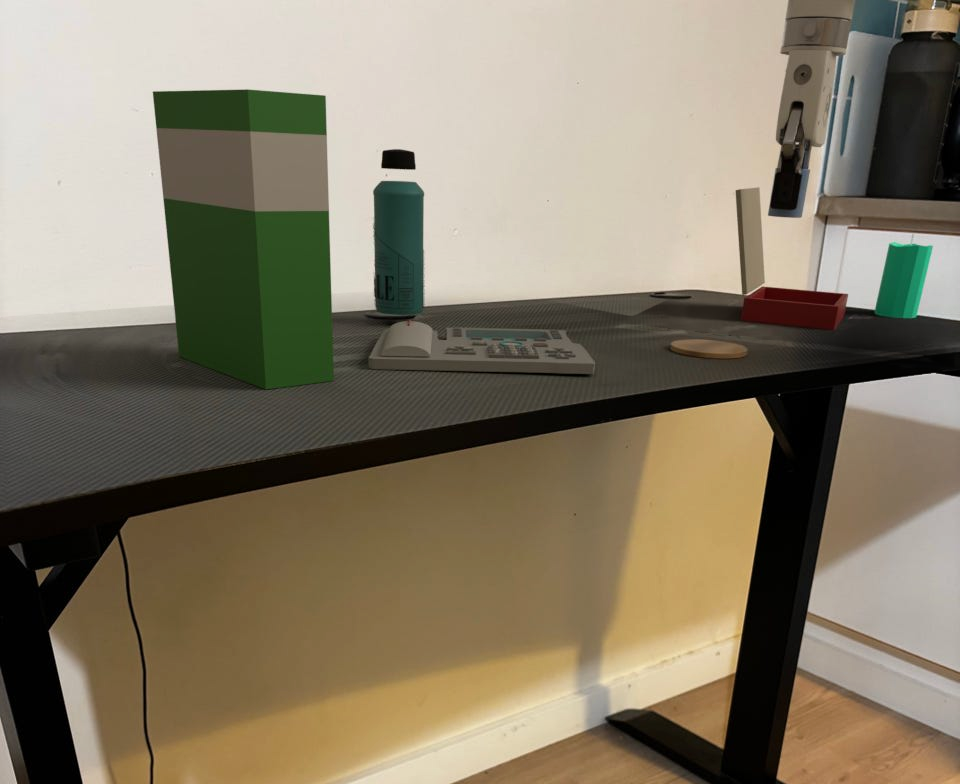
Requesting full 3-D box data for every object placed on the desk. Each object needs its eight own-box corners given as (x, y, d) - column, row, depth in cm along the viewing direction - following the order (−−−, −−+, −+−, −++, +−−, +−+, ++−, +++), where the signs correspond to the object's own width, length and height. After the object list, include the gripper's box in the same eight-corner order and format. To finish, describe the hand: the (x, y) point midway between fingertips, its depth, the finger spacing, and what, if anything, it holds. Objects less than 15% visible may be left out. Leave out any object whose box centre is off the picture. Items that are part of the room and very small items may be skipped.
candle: (921, 323, 142) (942, 235, 136) (881, 321, 142) (900, 233, 136) (906, 317, 147) (926, 232, 142) (867, 315, 147) (885, 230, 142)
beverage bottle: (432, 321, 126) (434, 150, 117) (412, 329, 120) (413, 150, 111) (386, 317, 128) (385, 148, 119) (364, 324, 122) (362, 147, 113)
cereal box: (179, 356, 100) (152, 91, 89) (243, 349, 104) (225, 96, 94) (265, 389, 88) (247, 89, 78) (333, 380, 93) (325, 95, 82)
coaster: (752, 349, 117) (753, 344, 117) (739, 361, 110) (740, 356, 109) (679, 341, 120) (680, 336, 120) (662, 353, 113) (662, 347, 112)
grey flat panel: (759, 187, 139) (754, 188, 139) (740, 189, 126) (735, 190, 127) (764, 283, 144) (760, 283, 144) (747, 294, 131) (742, 295, 132)
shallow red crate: (843, 320, 142) (848, 293, 140) (832, 335, 129) (838, 306, 127) (757, 312, 146) (762, 286, 144) (739, 325, 133) (744, 297, 132)
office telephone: (367, 345, 97) (380, 313, 115) (368, 371, 98) (380, 336, 116) (597, 350, 98) (574, 318, 116) (594, 376, 99) (572, 340, 117)
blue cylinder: (803, 216, 124) (812, 169, 121) (799, 218, 120) (807, 169, 118) (770, 214, 125) (778, 167, 123) (765, 216, 122) (772, 167, 119)
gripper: (839, 31, 106) (807, 213, 114) (855, 47, 119) (824, 208, 128) (770, 31, 108) (743, 208, 117) (793, 47, 122) (767, 204, 131)
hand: (786, 206), depth 122 cm, fingers closed on blue cylinder, 4 cm apart
